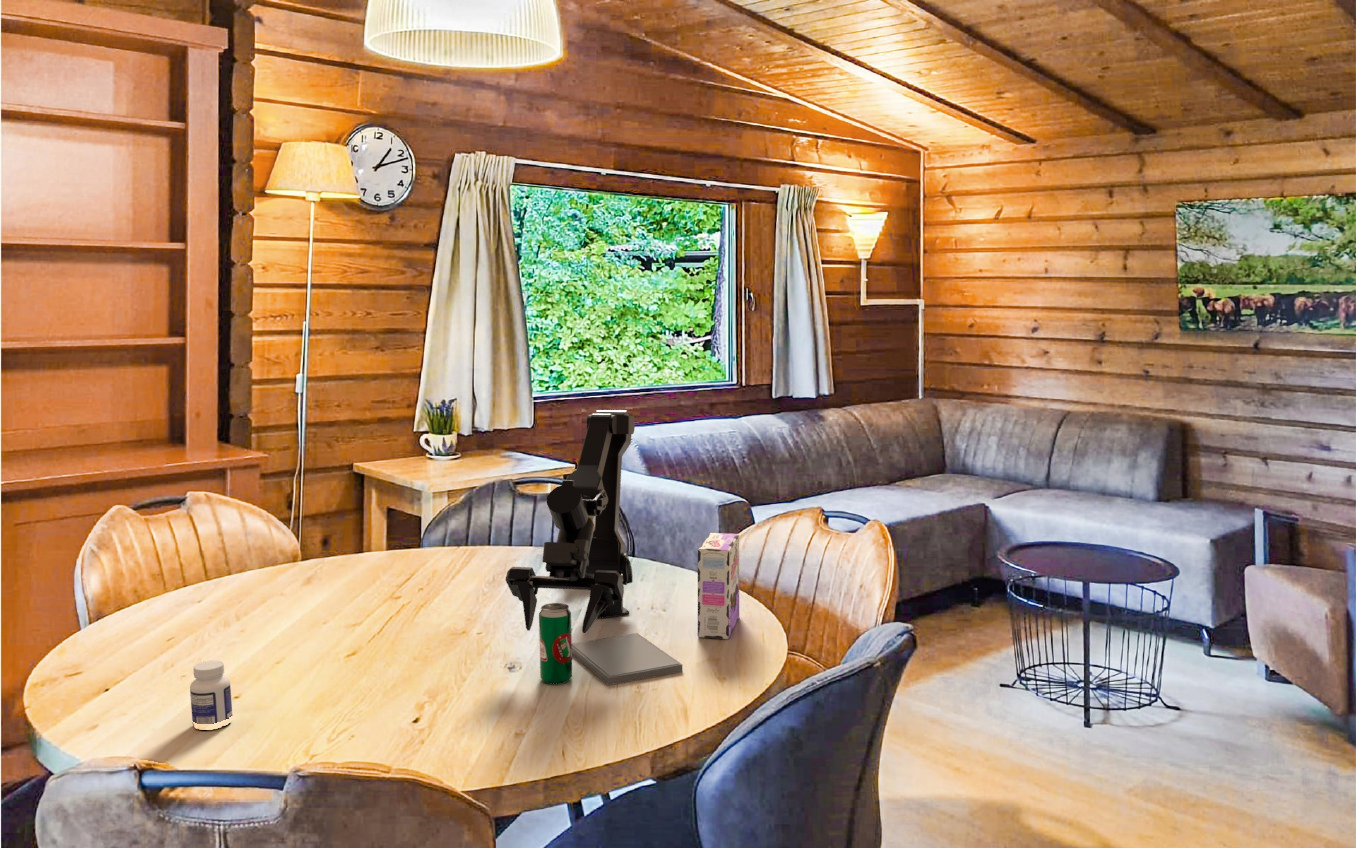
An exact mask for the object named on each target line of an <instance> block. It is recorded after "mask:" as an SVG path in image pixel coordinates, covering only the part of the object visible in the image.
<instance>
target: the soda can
mask: <svg viewBox="0 0 1356 848" xmlns="http://www.w3.org/2000/svg"><path fill="white" fill-rule="evenodd" d="M569 607H570V606H569V604H567V603H562V602H551V603H546V604H544V605H541V608H540V609H541V610H540V611H539V613H538V623H539V624H538V627H539V628H538V632H539V636H538V637H539V669H540V670H539V671H540V672H539V673H540V674H539V676H540V677H539V678H540V679H541V680H542V681H543V682H544V683H545V684H548V685H561V684H565V683H567V682H569V681H570V680H571V679H572V677H573V654H572V643H573V640H572V638H573V637H572V612H571V611H570V609H569Z"/></svg>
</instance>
